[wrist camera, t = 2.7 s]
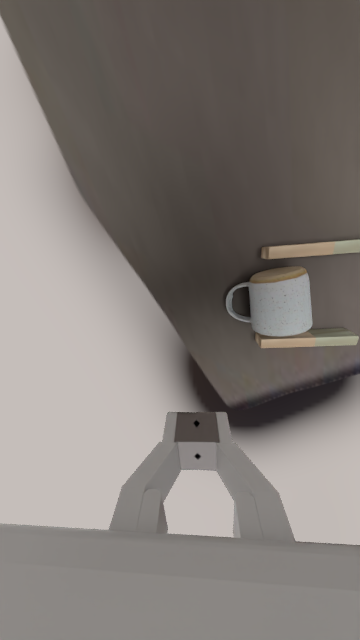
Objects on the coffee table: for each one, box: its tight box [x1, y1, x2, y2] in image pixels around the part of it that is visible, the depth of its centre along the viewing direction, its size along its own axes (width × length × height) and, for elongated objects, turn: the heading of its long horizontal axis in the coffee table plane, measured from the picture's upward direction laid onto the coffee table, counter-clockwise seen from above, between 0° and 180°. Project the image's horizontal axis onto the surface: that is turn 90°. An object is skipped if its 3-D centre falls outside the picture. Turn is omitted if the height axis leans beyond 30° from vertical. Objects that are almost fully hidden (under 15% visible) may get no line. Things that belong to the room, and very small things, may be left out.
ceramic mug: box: [226, 266, 312, 336], centre depth 26 cm, size 11×8×8 cm
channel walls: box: [255, 239, 360, 348], centre depth 28 cm, size 15×14×3 cm
